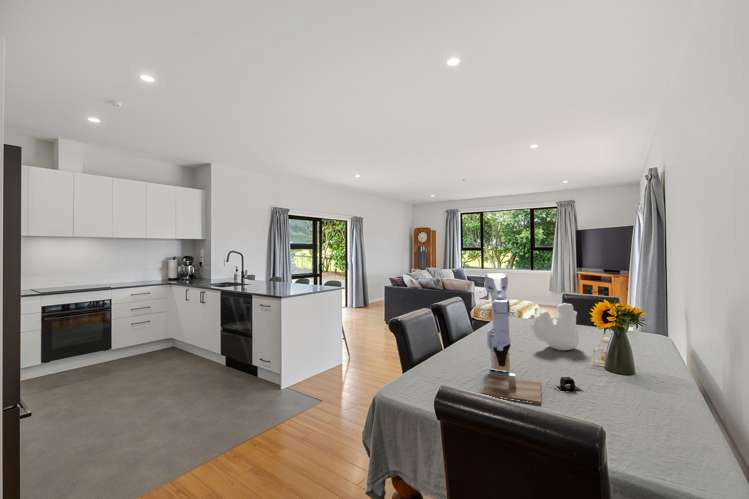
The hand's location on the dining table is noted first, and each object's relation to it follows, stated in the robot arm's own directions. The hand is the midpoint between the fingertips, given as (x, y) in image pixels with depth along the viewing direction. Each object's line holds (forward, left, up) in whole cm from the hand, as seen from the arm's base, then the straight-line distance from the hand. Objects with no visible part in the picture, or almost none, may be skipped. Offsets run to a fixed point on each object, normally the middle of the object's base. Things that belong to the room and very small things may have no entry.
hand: (502, 363), depth 134 cm
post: (+1, +3, -8) cm, 9 cm away
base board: (+1, +3, -9) cm, 10 cm away
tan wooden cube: (0, 0, -2) cm, 2 cm away
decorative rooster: (-65, +20, -10) cm, 68 cm away
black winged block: (-8, +23, -10) cm, 26 cm away
